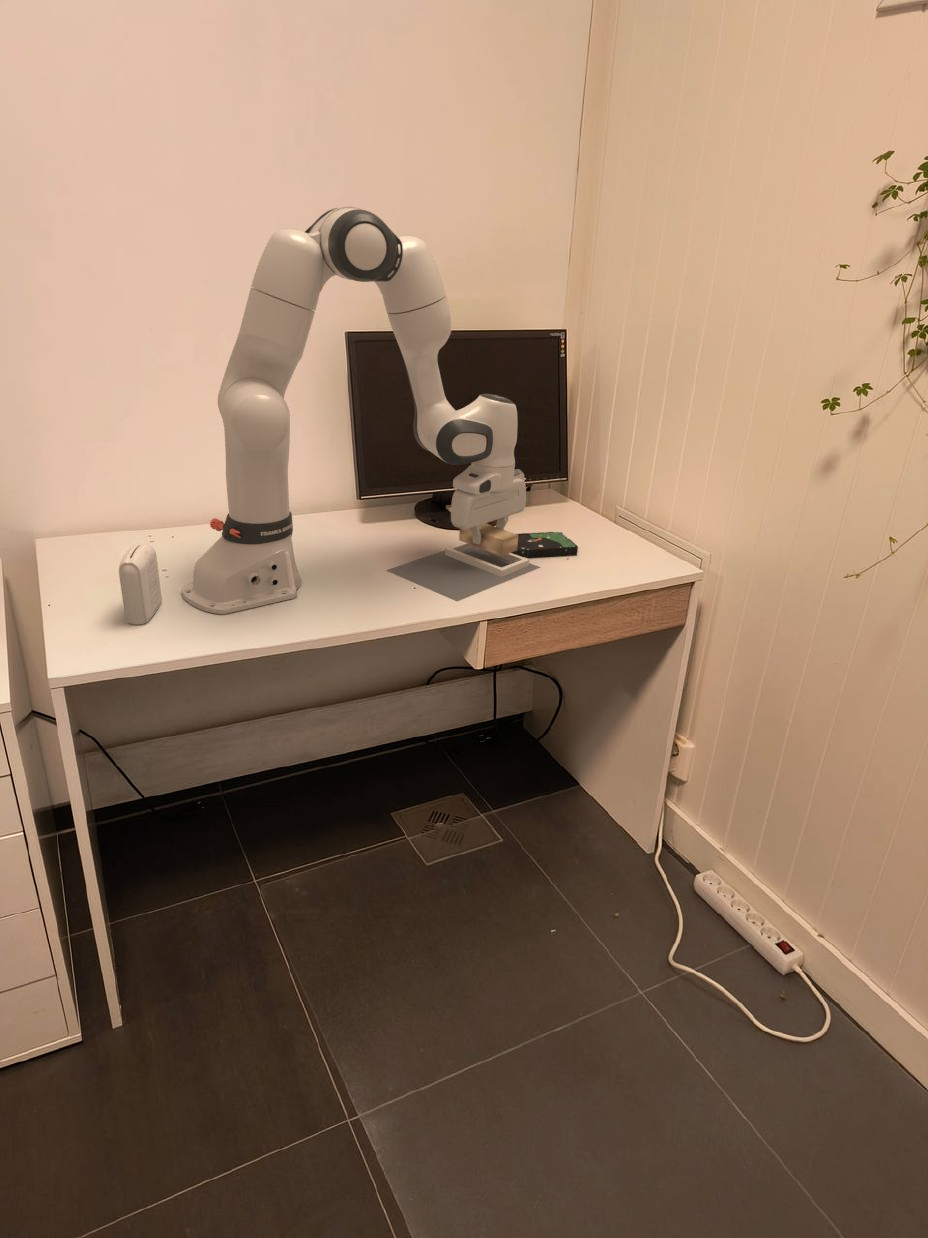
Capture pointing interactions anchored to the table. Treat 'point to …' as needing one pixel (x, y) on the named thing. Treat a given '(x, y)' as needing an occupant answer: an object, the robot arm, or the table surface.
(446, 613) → the table surface
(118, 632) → the table surface
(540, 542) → the disk drive
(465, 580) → the mat
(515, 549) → the tan wooden block
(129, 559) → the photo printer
